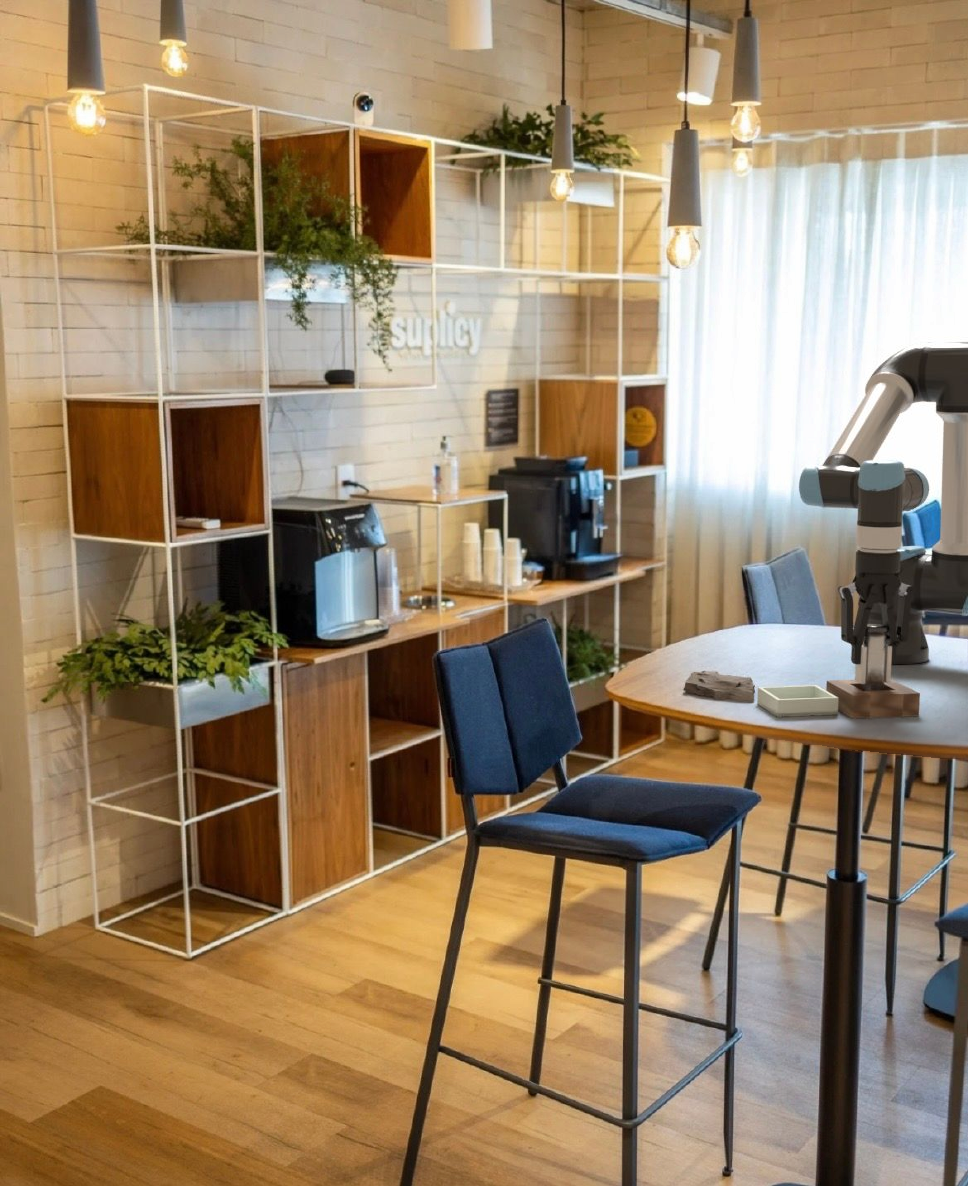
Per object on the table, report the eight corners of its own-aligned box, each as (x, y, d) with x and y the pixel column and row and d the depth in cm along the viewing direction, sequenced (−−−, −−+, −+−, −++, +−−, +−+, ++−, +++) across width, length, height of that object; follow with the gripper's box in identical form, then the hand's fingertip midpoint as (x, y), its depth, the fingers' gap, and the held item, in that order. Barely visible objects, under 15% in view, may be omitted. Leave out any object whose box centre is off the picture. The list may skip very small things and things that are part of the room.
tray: (815, 701, 249) (816, 685, 248) (837, 714, 239) (838, 697, 238) (757, 703, 247) (757, 687, 247) (777, 717, 237) (777, 700, 237)
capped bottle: (878, 695, 245) (881, 623, 243) (889, 701, 241) (892, 628, 239) (854, 696, 244) (857, 624, 242) (865, 702, 240) (868, 628, 238)
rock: (679, 697, 253) (679, 676, 252) (691, 687, 261) (692, 667, 261) (752, 705, 248) (753, 683, 247) (763, 694, 256) (764, 673, 255)
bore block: (888, 699, 250) (889, 678, 249) (918, 715, 238) (920, 693, 237) (825, 702, 248) (826, 680, 247) (853, 718, 236) (854, 695, 235)
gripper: (914, 546, 243) (908, 675, 247) (823, 548, 241) (818, 678, 245) (934, 551, 236) (927, 684, 240) (840, 553, 234) (835, 688, 237)
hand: (872, 681), depth 242 cm, fingers closed on capped bottle, 4 cm apart
